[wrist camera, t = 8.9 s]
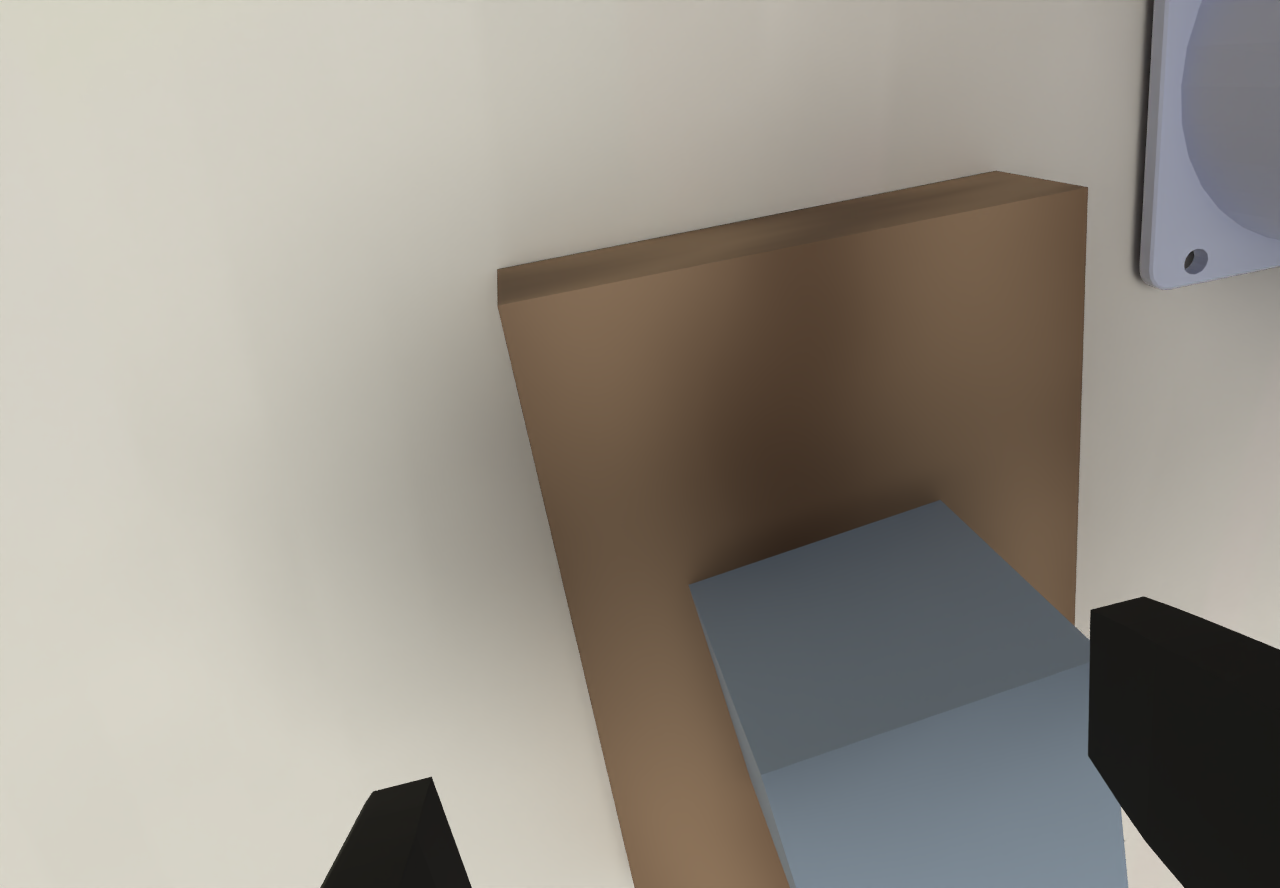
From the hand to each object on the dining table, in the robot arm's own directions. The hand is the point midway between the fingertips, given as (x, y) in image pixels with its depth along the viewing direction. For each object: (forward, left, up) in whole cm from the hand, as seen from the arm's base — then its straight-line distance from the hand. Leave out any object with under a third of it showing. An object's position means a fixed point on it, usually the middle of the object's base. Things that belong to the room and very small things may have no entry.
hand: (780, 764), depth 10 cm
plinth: (-3, +4, -10) cm, 11 cm away
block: (-3, +4, -7) cm, 9 cm away
